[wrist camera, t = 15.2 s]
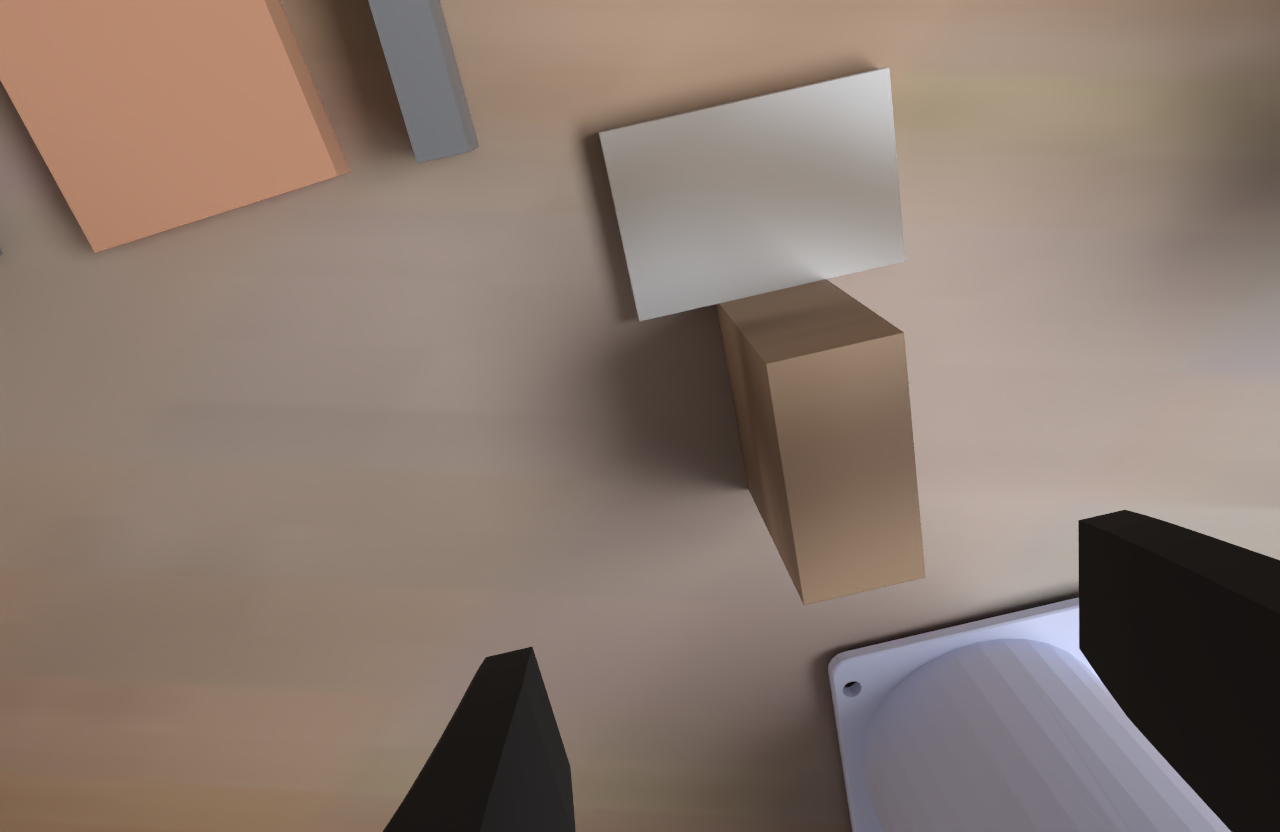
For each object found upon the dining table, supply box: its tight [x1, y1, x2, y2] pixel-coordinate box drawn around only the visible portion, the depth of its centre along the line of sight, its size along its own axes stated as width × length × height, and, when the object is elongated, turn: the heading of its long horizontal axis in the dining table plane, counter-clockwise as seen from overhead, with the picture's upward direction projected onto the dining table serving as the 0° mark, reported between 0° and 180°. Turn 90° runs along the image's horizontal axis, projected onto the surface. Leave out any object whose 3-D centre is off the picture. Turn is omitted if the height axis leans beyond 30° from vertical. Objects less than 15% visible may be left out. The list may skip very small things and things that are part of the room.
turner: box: [598, 68, 925, 605], centre depth 16 cm, size 9×6×5 cm, turn 12°
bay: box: [0, 0, 478, 254], centre depth 15 cm, size 7×11×2 cm, turn 102°
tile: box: [0, 0, 351, 253], centre depth 16 cm, size 5×5×2 cm
